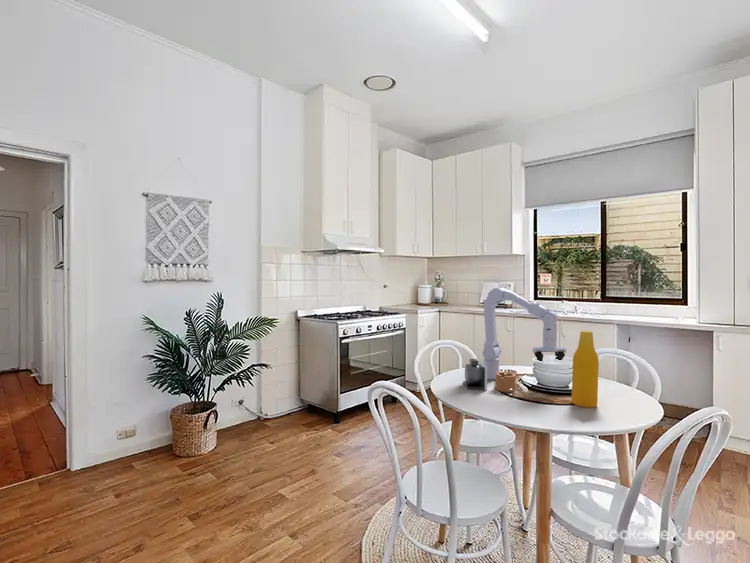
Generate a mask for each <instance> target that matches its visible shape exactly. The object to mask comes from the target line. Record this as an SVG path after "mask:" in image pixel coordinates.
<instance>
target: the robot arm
mask: <svg viewBox="0 0 750 563" xmlns="http://www.w3.org/2000/svg"><path fill="white" fill-rule="evenodd" d="M504 301H509V302H510V301H511V302H513V303H515V304H517V305H519V306H520V307H523V308H525V309H526V311H527V313H528V314H529V315H532V316H533V317H534V318H536V319H538V320H541V321H542V324H543V327H542V346H536V347H532V352H533V354H534V356H535V358H536V357H537V358H536V361H537V360H539V361H542V362H543V359H544V353H554V357H555V356H557V357H555V360H556V359H558V360H562V361H563V359H564V358H565V356H566V353H567V348H566V347H558V346H557V342H558V340H557V339H558V336H557V335H558V328H557V322H558V320H559V315H558V314H557V312H555V311H553V310H550V308H548V307H547V308H546V307H544V306H543V305H541V303H540V302H530V301H528V300H527V299H525V298H523V297H522V296H520V295H519V294H517V293H516V292H514V291H512V290H510V289H507V288H506V287H503V286H502V287H495V288H493V289H491V290H490V291H489V292H488V293H487V296H486V298H485V300H484V302H483V315H484V316H483V317H484V331H485V341H484V343H483V349H482V356H483V361H482V363H483V364H484V365H485V366H486V367H487V380H496V373H497V372H500V357H499V356H500V355H501V353H502V349H501V347H500V345H499V341H498V334H497V320H496V307H497V306H498V305H499V304H500V303H501V302H504Z"/></svg>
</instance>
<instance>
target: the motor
mask: <svg viewBox="0 0 750 563" xmlns="http://www.w3.org/2000/svg"><path fill="white" fill-rule="evenodd" d="M462 384H463V385H464V386H465V387H466V389H467V390H469V391H470V390H471V391H472V390H475V391H476V390H478V391H480V390H482V391H483V390H484V391H487V390H488V379H487V367H486V366H485V365H484V364H483V361H480V360H478V359H477V358H469V362H468V363H466V364H465V366H464V380H463V382H462Z"/></svg>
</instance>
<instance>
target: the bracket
mask: <svg viewBox="0 0 750 563" xmlns="http://www.w3.org/2000/svg"><path fill="white" fill-rule="evenodd" d="M516 378H517V382H518V381H519V382H520V378H518V377H517V376H516V374H515V373H513V372H509V371H508V372H505V371H499V372H497V373H496V379H495V389H496V390H497V391H499V392H502V393H513V392H515V391H516V390H517V389H518V387H519V385H520V383H519V384H518V385H517V382H516ZM511 388H512V389H513V390H509V389H511Z"/></svg>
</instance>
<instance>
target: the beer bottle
mask: <svg viewBox="0 0 750 563" xmlns="http://www.w3.org/2000/svg"><path fill="white" fill-rule="evenodd" d="M593 333H594V332H593V331H592V330H591V331H590V330H580V333H579V341H578V346H577V348H576V349H575V352H574V354H573V355H572V356H573V357H572V377H571V378H572V379H571V380H572V381H571V402H572V404H573V405H575V406H578V407H581V408H591V409H592V408H595V407H597V405H598V402H599V401H598V400H599V397H598V394H599V392H598V391H599V369H600V368H599V365H600V360H599V356H598V353H597V351H596V349H595V344H594V334H593Z"/></svg>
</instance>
